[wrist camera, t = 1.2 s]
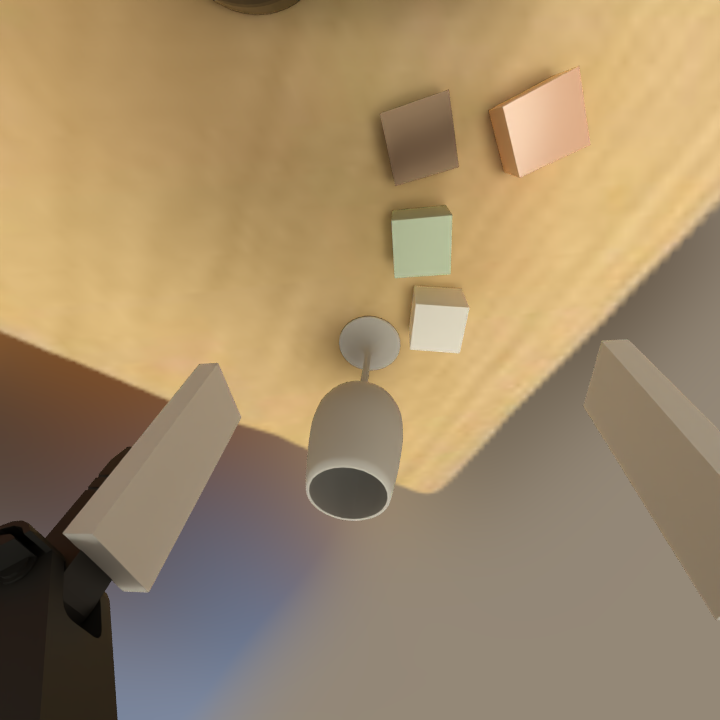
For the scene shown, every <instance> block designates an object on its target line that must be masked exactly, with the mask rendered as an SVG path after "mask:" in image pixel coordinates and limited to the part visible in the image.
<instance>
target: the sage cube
mask: <svg viewBox="0 0 720 720" xmlns="http://www.w3.org/2000/svg"><path fill="white" fill-rule="evenodd" d="M391 223H392V240H393V258H394V275H395V278H405V277H419V276H433V275H447V274H451V244H452V214H451V212H450V211H449V209H448V208H447V206H446V205H442V206H432V207H422V208H411V209H401V210H392V220H391Z"/></svg>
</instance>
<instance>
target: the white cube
mask: <svg viewBox="0 0 720 720" xmlns="http://www.w3.org/2000/svg"><path fill="white" fill-rule="evenodd" d="M468 312H469V305H468V303H467V300H466V298H465V295H464V293H463V290H462V289H459V288H444V287H429V286H414V291H413V299H412V307H411V316H410V324H409V337H410V350H423V351H436V352H449V353H460V349H461V345H462V340H463V335H464V331H465V326H466V321H467V317H468Z"/></svg>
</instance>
